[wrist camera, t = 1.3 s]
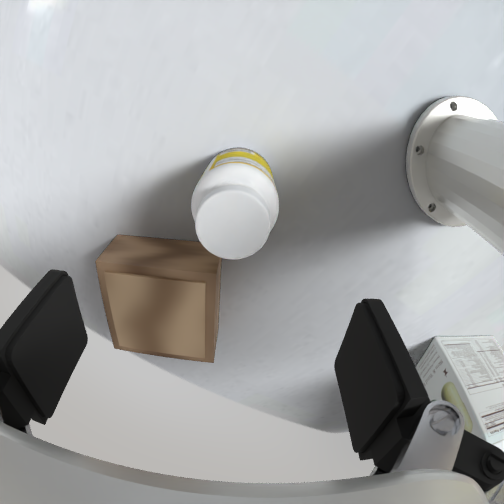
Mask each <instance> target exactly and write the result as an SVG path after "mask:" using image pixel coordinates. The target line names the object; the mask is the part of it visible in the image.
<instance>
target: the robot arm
mask: <svg viewBox="0 0 504 504" xmlns="http://www.w3.org/2000/svg"><path fill="white" fill-rule="evenodd" d="M416 147H417V150H416ZM406 170H407V179H408V183H409V187H410V190H411V192H412V195H413V197H414V199H415V201H416V202H417V204H418V205H419V207H420V208H421V209H422V210H423V211H424V212H425V213H426V214H427V215H428V216H429V217H431V218H432V219H433V220H435V221H436V222H438V223H440V224H442V225H445V226H451V227H460V226H465V225H468V226H469V227H470V228H471V229H473V230H474V231H475V232H476V233H478V234H479V235H480V236H481V237H482V238H484V239H485V240H486V241H487V242H488V243H489V244H491V245H492V246H493V247H494V248H495V249H496V250H498V251H499V252H500V253H501V254H502V255H503V256H504V122H502V121H498V120H497V118H496V117H495V115H494V114H493V113H492V112H491V111H490V110H489V109H488V108H487V107H486V106H485V105H484V104H482V103H481V102H479V101H478V100H475V99H472V98H469V97H464V96H448V97H445V98H442V99H439V100H437V101H436V102H434V103H433V104H431V105H430V106H429V107H428V108H427V109H426V110H425V111H424V112H423V113H422V114H421V116H420V117H419V119H418V120H417V122H416V124H415V126H414V128H413V130H412V133H411V135H410V139H409V143H408V147H407V156H406ZM87 339H88V338H87V334H86V330H85V326H84V323H83V320H82V316H81V313H80V309H79V305H78V301H77V298H76V294H75V290H74V285H73V281H72V278H71V277H70V276H68V274H67V272H65V271H60V270H50V271H49V272H48V273H47V274H46V275H45V276H44V277H43V278H42V279H41V280H40V282H39V283H38V284H37V285H36V286H35V287H34V288H33V290H32V291H31V292H30V293H29V294H28V295H27V297H26V298H25V299H24V300H23V301H22V302H21V304H20V305H19V306H18V307H17V309H16V310H15V311H14V312H13V314H12V315H11V316H10V317H9V319H8V320H7V321H6V322H5V324H4V325H3V326H2V328H1V329H0V504H504V452H503V451H502V450H501V449H500V448H498V447H496V446H494V445H492V444H491V443H489V442H487V441H485V440H483V439H481V438H479V437H477V436H476V435H474V434H472V433H470V432H468V431H466V430H465V429H464V428H465V421H464V417H463V415H462V413H461V411H460V410H459V409H458V408H457V407H456V406H455V405H453V404H452V403H450V402H447V401H444V400H437V401H433V402H431V401H430V399H429V397H428V394H427V391H426V389H425V387H424V385H423V382H422V380H421V378H420V376H419V374H418V372H417V369H416V367H415V365H414V363H413V361H412V359H411V357H410V355H409V353H408V351H407V349H406V347H405V344H404V342H403V340H402V338H401V336H400V334H399V333H398V331H397V329H396V327H395V325H394V323H393V321H392V319H391V317H390V315H389V313H388V311H387V309H386V308H385V306H384V304H383V302H382V301H381V300H380V299H363V300H362V301H361V303H357V304H356V307H355V309H354V312H353V315H352V318H351V320H350V323H349V326H348V329H347V331H346V334H345V337H344V339H343V342H342V344H341V347H340V350H339V352H338V355H337V357H336V360H335V373H336V377H337V381H338V385H339V389H340V393H341V397H342V402H343V406H344V410H345V414H346V419H347V423H348V428H349V432H350V437H351V441H352V446H353V450H354V451H355V452H356V453H357V452H358V453H359V458H360V460H366V459H373V460H374V465H375V467H374V469H373V471H372V473H371V474H370V476H366V477H359V478H351V479H342V480H331V481H319V482H306V483H305V482H304V483H269V484H268V483H236V482H222V481H221V482H220V481H210V480H200V479H192V478H184V477H177V476H171V475H164V474H159V473H153V472H148V471H143V470H139V469H134V468H130V467H125V466H121V465H117V464H113V463H109V462H106V461H102V460H99V459H95V458H92V457H89V456H85V455H82V454H79V453H76V452H73V451H70V450H67V449H64V448H62V447H59V446H56V445H54V444H51V443H48V442H46V441H43V440H41V439H38V438H36V437H34V436H33V435H32V432H31V429H30V425H29V422H30V420H31V418H32V420H34V421H36V422H39V423H41V424H44V425H45V424H46V421H47V419H48V418H51V417H52V415H53V413H54V411H55V409H56V407H57V404H58V402H59V400H60V398H61V395H62V393H63V391H64V389H65V387H66V385H67V383H68V381H69V379H70V376H71V374H72V372H73V370H74V369H75V366H76V364H77V362H78V361H79V359H80V357H81V354H82V353H83V350H84V349H85V347H86V344H87Z"/></svg>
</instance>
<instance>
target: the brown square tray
mask: <svg viewBox="0 0 504 504" xmlns="http://www.w3.org/2000/svg"><path fill="white" fill-rule="evenodd" d="M95 262H96V268H97V273H98V279H99V284H100V289H101V294H102V299H103V304H104V308H105V313H106V317H107V321H108V325H109V329H110V333H111V337H112V341H113V345H114V348H115V349H120V350H126V351H131V352H137V353H143V354H149V355H156V356H162V357H169V358H177V359H184V360H192V361H201V362H210V363H214V356H215V348H216V341H217V333H218V322H219V300H220V280H221V262H222V258H221V257H218V256H216V255H214V254H212V253H211V252H209V251H208V250H207V249H206V248H205V247H204V246H203V245H202V244H201V242H197V241H186V240H174V239H163V238H151V237H140V236H128V235H117V236H116V237H115V238H114V239H113V241H112V242H111V243H110V244H109V245H108V246H107V248H106V249H105V250H104V251H103V252H102V254H101V255H100V256H99V257H98V259H97V260H96V261H95Z"/></svg>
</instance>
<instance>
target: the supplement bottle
mask: <svg viewBox="0 0 504 504" xmlns="http://www.w3.org/2000/svg"><path fill="white" fill-rule="evenodd" d="M191 210H192V216H193V219H194V221H195V230H196V234H197V237H198V239H199V241H200V242H201V244H202V245H203V246H204V247H205V248H206V249H207V250H208V251H209V252H211V253H212V254H214V255H216V256H218V257H221V258H224V259H242V258H246V257H249V256H251V255H253V254H254V253H256V252H257V251H258V250H260V249H261V248H262V247H263V245H264V244H265V242H266V241H267V239H268V236H269V233H270V231H271V230H272V228H273V227H274V225H275V223H276V220H277V217H278V213H279V199H278V194H277V190H276V186H275V182H274V179H273V175H272V172H271V169H270V167H269V165H268V163H267V162H266V161H265V159H264V158H263V157H262V156H261V155H259V154H258V153H257V152H255V151H253V150H250V149H247V148H241V147H237V148H230V149H227V150H225V151H222V152H221V153H219V154H218V155H217V156H215V157H214V158H213V160H212V161H211V162H210V164H209V165H208V167H207V168H206V170H205V172H204V173H203V175H202V177H201V178H200V180H199V182H198V184H197V185H196V187H195V190H194V192H193V196H192V201H191Z"/></svg>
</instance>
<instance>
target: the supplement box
mask: <svg viewBox="0 0 504 504" xmlns="http://www.w3.org/2000/svg"><path fill="white" fill-rule="evenodd" d="M416 369H417V372H418V374H419V376H420V378H421V380H422V382H423V385H424V387H425V389H426V391H427V394H428V397H429V399H430V401H431V402H433V401H437V400H444V401H447V402H450V403H452V404H453V405H455V406H456V407H457V408H458V409H459V410H460V411H461V413H462V415H463V417H464V421H465V428H464V429H465V430H466V431H468V432H470V433H472V434H474V435H476V436H477V437H479V438H481V439H483V440H485V441H487V442H489V443H491V444H492V445H494V446H496V447H498V448H500V449H501V450H502V451H503V452H504V351H503V350H502V348H501V347H500V345H499V344H498V342H497V341H496V339H495V338H494V337H493V336H452V337H434V339H433V340H432V342H431V344H430V345H429V347H428V349H427V350H426V352H425V353H424V355H423V356H422V358H421V359H420V361H419V362H418V364H417V365H416Z"/></svg>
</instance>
